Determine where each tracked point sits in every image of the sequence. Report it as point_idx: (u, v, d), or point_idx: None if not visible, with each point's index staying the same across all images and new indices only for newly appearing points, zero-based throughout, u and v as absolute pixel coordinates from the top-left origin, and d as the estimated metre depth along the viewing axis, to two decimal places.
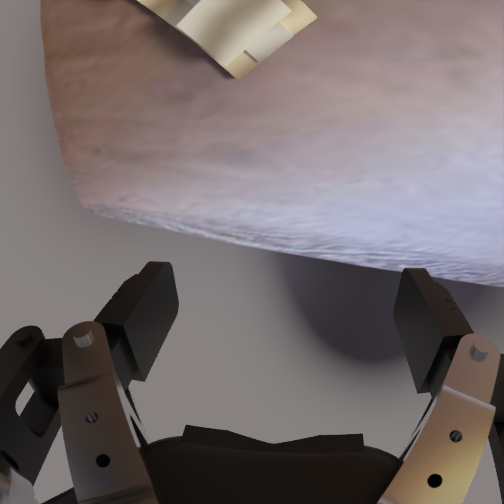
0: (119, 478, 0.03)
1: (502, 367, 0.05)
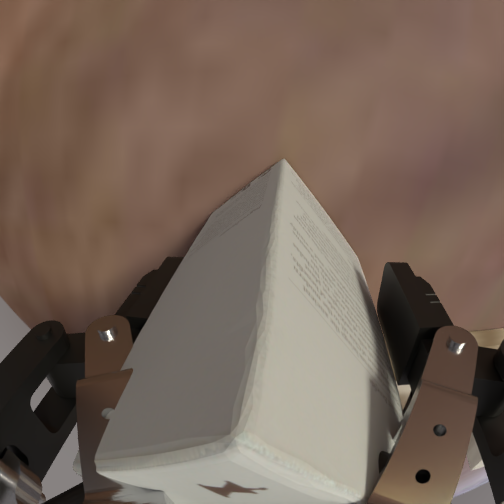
0: None
1: (481, 360, 0.06)
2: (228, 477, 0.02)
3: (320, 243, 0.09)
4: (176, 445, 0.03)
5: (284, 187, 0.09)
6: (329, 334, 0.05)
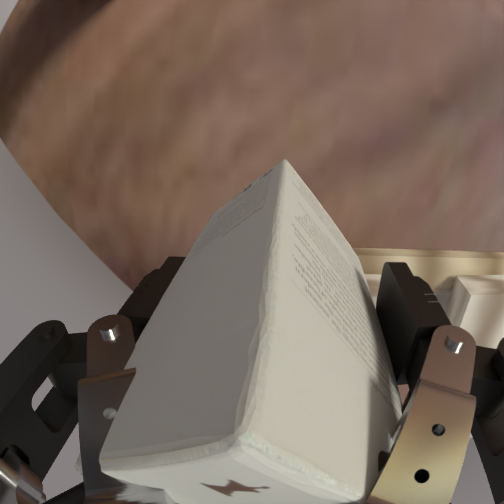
0: None
1: (479, 359, 0.06)
2: (230, 476, 0.03)
3: (321, 244, 0.09)
4: (181, 445, 0.03)
5: (286, 188, 0.09)
6: (331, 335, 0.05)
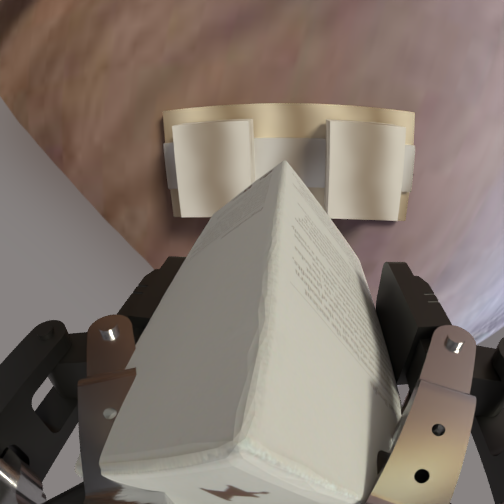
0: None
1: (479, 359, 0.06)
2: (230, 482, 0.02)
3: (321, 245, 0.09)
4: (180, 450, 0.03)
5: (285, 189, 0.09)
6: (331, 337, 0.05)
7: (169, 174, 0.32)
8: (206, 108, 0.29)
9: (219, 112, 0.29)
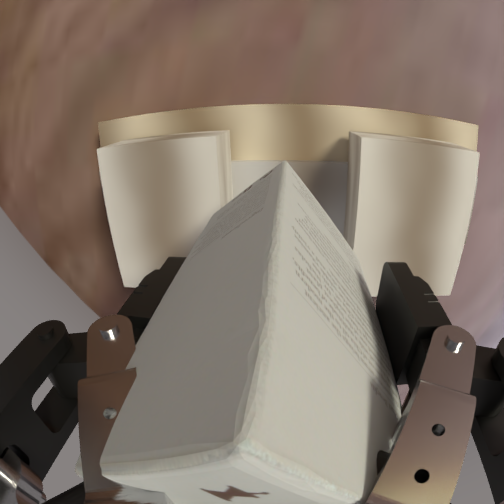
0: None
1: (479, 359, 0.06)
2: (230, 483, 0.02)
3: (321, 246, 0.09)
4: (180, 451, 0.03)
5: (286, 190, 0.09)
6: (331, 338, 0.05)
7: None
8: (158, 115, 0.18)
9: (177, 121, 0.18)
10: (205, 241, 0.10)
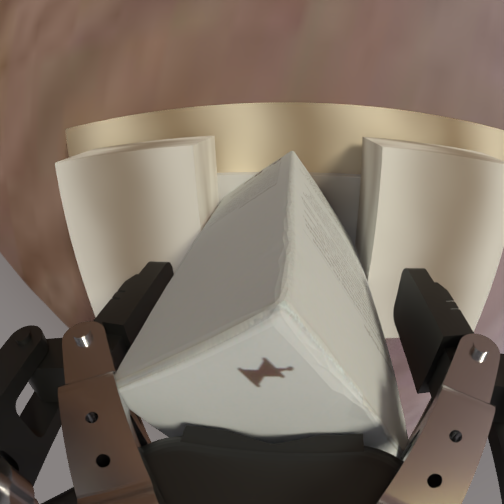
0: (120, 478, 0.03)
1: (502, 367, 0.05)
2: (265, 352, 0.04)
3: (323, 219, 0.10)
4: (228, 326, 0.04)
5: (295, 171, 0.10)
6: (333, 277, 0.07)
7: None
8: (130, 118, 0.15)
9: (152, 126, 0.15)
10: (222, 213, 0.11)
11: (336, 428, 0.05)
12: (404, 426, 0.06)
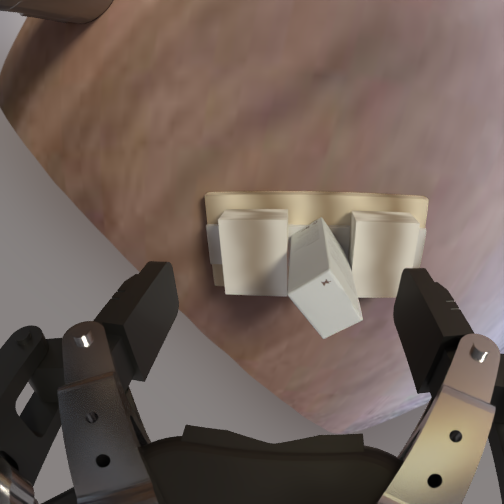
0: (120, 478, 0.03)
1: (502, 367, 0.05)
2: (326, 277, 0.24)
3: (334, 249, 0.30)
4: (319, 273, 0.24)
5: (325, 232, 0.30)
6: (337, 267, 0.26)
7: (211, 252, 0.38)
8: (245, 196, 0.35)
9: (257, 201, 0.35)
10: (298, 246, 0.31)
11: (339, 298, 0.24)
12: (360, 309, 0.26)
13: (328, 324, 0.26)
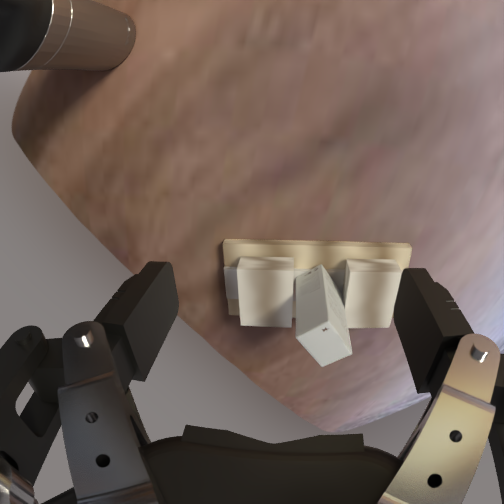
0: (120, 478, 0.03)
1: (502, 367, 0.05)
2: (325, 326, 0.31)
3: (331, 295, 0.37)
4: (321, 323, 0.31)
5: (324, 281, 0.37)
6: (334, 313, 0.34)
7: (227, 289, 0.45)
8: (258, 245, 0.42)
9: (267, 249, 0.42)
10: (302, 291, 0.39)
11: (335, 340, 0.32)
12: (350, 345, 0.33)
13: (326, 357, 0.33)
